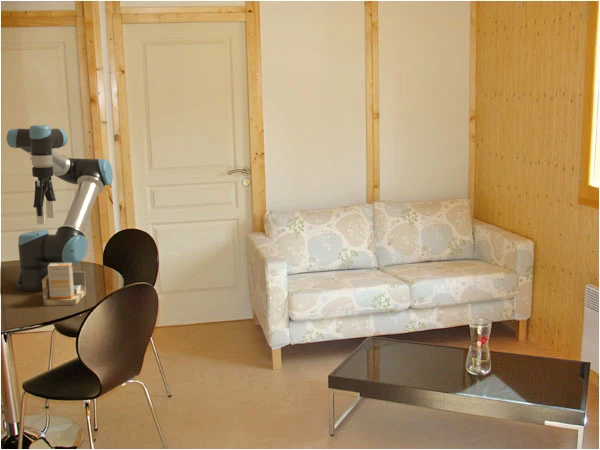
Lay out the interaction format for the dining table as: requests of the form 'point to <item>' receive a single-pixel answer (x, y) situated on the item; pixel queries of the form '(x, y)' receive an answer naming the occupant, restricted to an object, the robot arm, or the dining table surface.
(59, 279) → the supplement box
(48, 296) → the shelf
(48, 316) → the dining table surface
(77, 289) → the flat book
